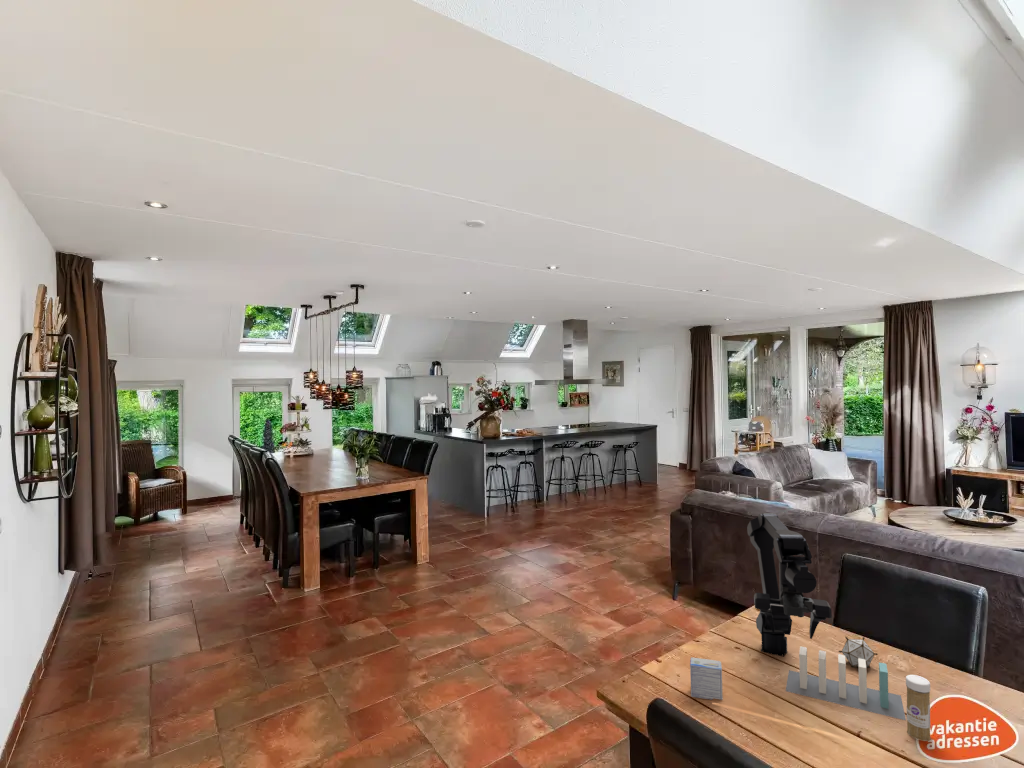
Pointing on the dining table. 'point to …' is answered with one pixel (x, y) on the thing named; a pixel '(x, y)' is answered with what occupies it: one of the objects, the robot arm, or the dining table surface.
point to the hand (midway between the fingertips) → (792, 635)
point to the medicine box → (706, 678)
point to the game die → (857, 651)
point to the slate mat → (851, 695)
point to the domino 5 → (883, 685)
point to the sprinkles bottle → (918, 707)
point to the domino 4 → (862, 680)
